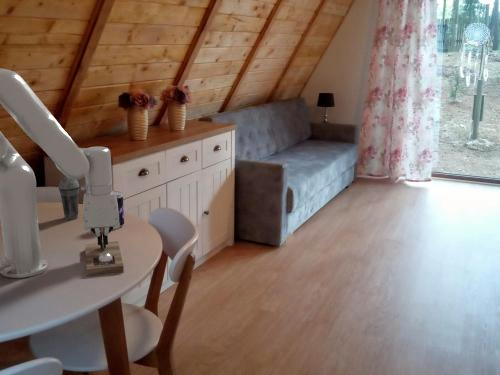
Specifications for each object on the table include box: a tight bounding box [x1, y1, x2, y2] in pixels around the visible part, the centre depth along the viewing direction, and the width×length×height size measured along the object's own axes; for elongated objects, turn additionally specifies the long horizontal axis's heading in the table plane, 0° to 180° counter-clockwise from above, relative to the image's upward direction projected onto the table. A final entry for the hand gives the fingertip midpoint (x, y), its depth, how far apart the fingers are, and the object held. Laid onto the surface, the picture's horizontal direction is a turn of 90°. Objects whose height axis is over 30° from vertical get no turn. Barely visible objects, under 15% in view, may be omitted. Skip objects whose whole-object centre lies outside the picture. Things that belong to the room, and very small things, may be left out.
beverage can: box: [113, 190, 125, 228], centre depth 193 cm, size 6×6×12 cm
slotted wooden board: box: [84, 241, 125, 277], centre depth 164 cm, size 20×10×2 cm, turn 17°
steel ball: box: [99, 253, 113, 265], centre depth 160 cm, size 4×4×4 cm
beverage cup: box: [58, 176, 81, 221], centre depth 199 cm, size 7×7×20 cm
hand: (103, 246), depth 168 cm, fingers closed
